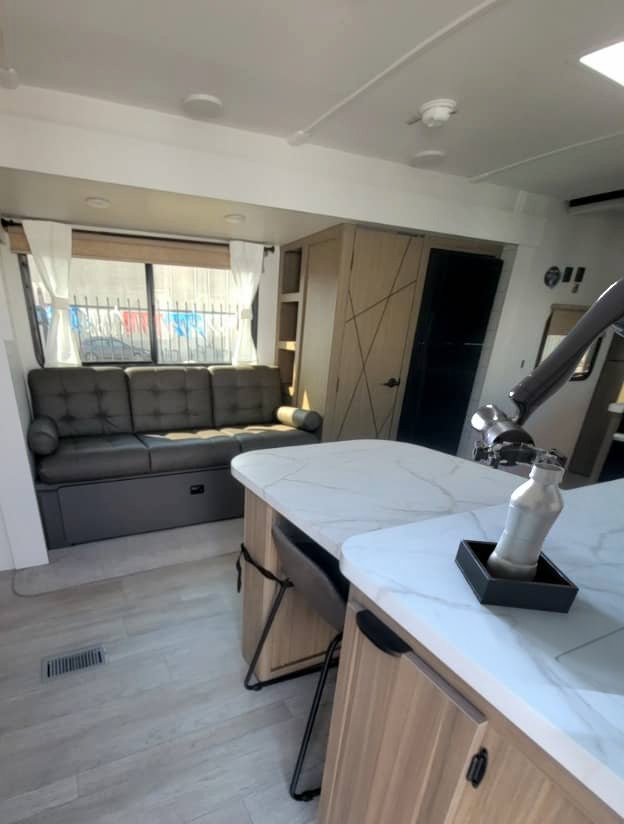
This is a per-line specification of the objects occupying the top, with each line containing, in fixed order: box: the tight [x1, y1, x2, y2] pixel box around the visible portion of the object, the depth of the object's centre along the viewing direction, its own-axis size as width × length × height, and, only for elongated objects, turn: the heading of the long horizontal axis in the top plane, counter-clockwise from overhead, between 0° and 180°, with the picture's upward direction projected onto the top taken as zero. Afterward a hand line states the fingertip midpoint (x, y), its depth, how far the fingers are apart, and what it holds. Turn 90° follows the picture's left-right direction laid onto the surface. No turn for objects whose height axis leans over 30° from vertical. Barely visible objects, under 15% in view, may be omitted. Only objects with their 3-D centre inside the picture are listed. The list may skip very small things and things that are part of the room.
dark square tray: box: [454, 539, 580, 614], centre depth 66 cm, size 12×12×4 cm
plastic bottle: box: [486, 462, 565, 582], centre depth 63 cm, size 6×7×20 cm
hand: (525, 466), depth 69 cm, fingers open, 8 cm apart
